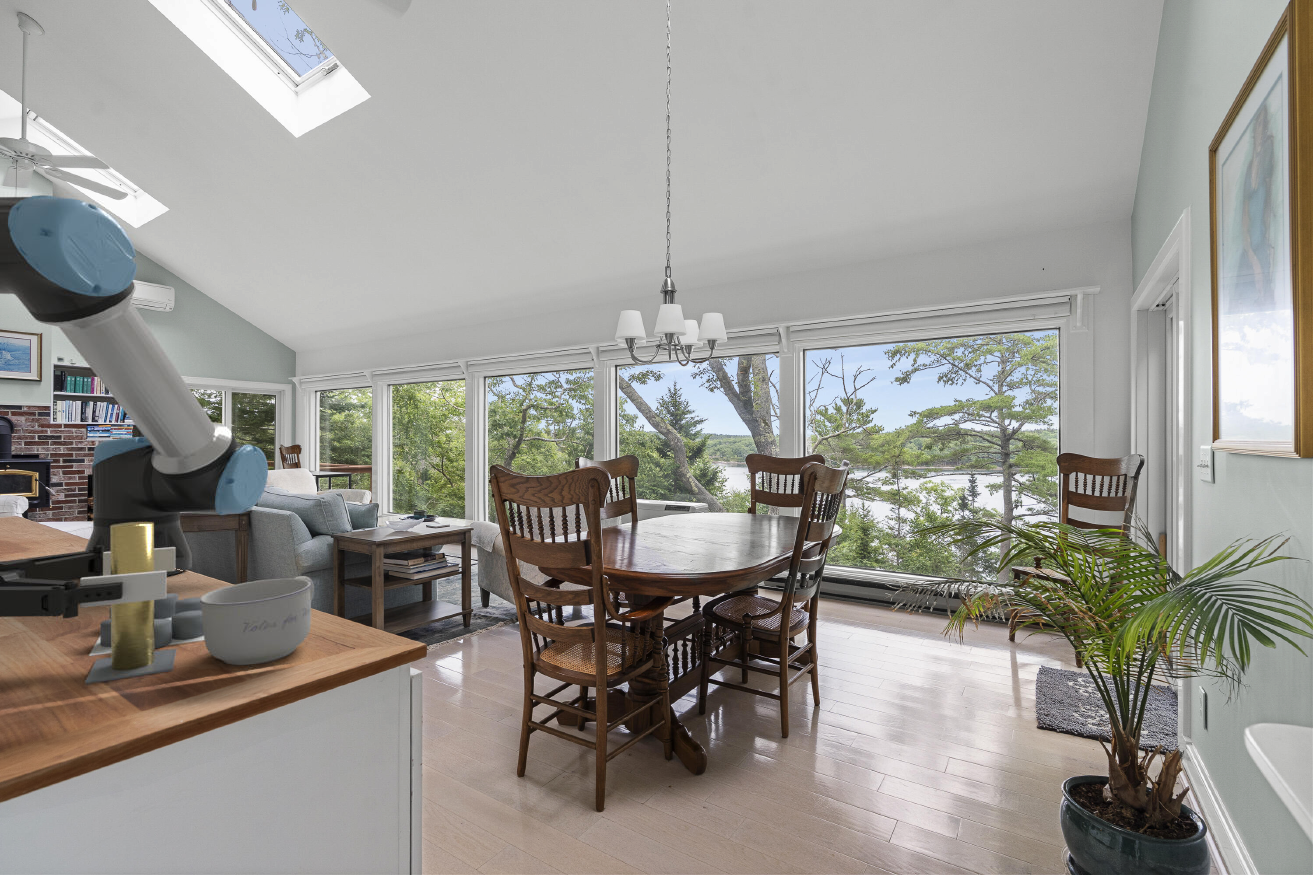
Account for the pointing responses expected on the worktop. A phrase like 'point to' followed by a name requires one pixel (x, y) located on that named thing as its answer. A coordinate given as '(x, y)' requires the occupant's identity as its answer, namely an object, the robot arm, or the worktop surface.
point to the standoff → (133, 618)
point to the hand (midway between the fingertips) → (171, 570)
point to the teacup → (257, 619)
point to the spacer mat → (164, 624)
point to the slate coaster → (106, 673)
